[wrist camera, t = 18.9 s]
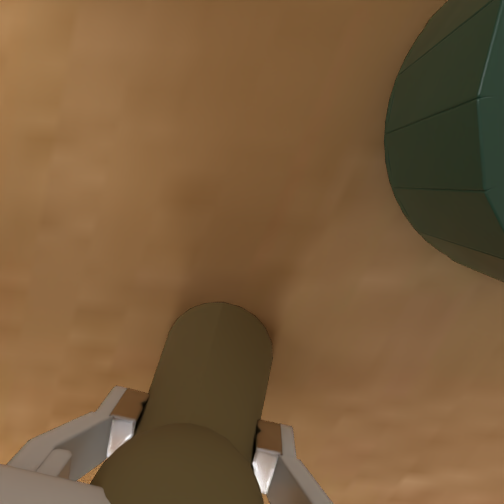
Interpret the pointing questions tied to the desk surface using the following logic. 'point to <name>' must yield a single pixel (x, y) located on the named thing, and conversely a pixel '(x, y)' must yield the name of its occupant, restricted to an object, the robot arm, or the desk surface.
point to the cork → (197, 415)
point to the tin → (453, 134)
